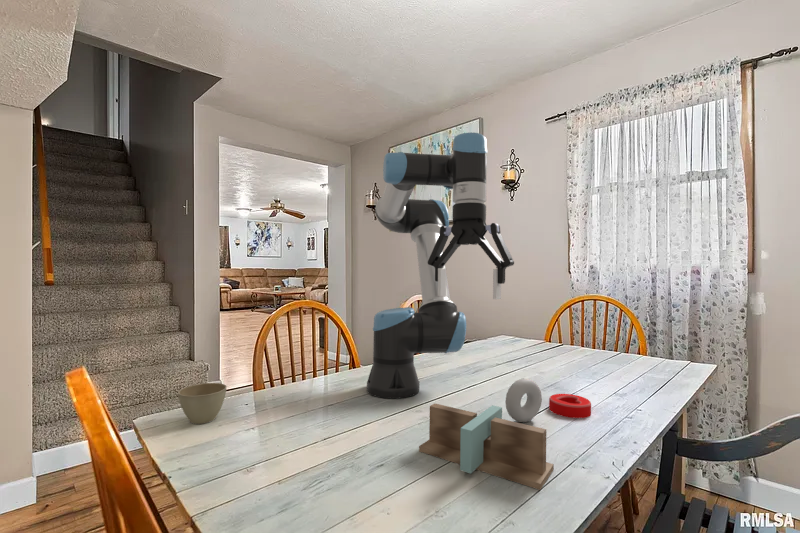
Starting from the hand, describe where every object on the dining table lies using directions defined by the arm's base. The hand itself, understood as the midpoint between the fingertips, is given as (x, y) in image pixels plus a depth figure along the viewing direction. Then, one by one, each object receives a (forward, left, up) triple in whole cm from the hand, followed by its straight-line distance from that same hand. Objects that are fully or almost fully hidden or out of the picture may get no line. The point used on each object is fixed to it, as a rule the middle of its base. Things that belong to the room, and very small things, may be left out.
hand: (468, 297), depth 92 cm
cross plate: (+10, -15, -28) cm, 33 cm away
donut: (+10, +9, -29) cm, 32 cm away
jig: (+10, -14, -29) cm, 33 cm away
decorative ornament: (+17, +23, -29) cm, 41 cm away
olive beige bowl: (-50, -34, -29) cm, 67 cm away
